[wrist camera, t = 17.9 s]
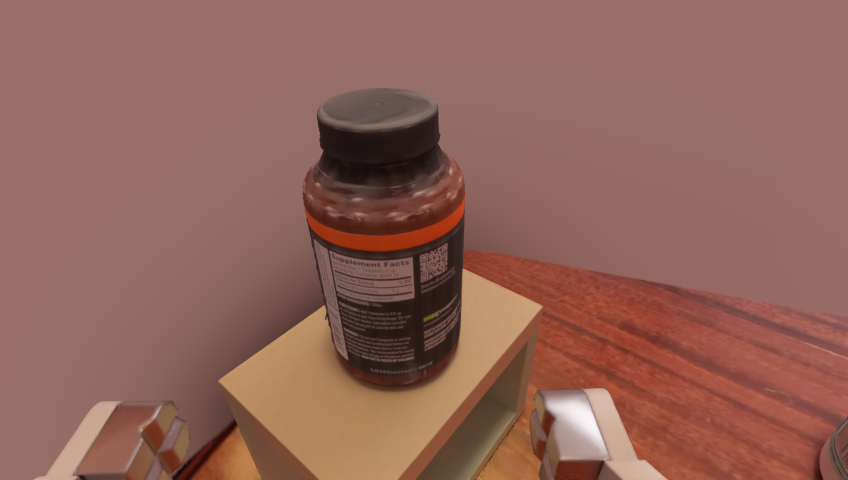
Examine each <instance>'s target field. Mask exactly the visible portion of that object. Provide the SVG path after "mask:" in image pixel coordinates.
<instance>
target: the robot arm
mask: <svg viewBox="0 0 848 480" xmlns="http://www.w3.org/2000/svg"><path fill="white" fill-rule="evenodd" d="M534 402H535V406H536V409H535V410H533V411H532V412H531V418H530V434H531V441H532V446H533V451H534V454H535V455H536V456H537V458H538V459H539V460H540V461H541V462H542V464H541V468H540V472H539V477H540V480H667V479H666V478H665V477H664V476H663V475H661V474H660V473H659V472H658V471H657V470H656V469H655V468H654V467H653V466H651V465H650V464H649V463H648V462H647V461H646V460H638V458H637V456H636V454H635V451H634V449H633V447H632V444H631V442H630V440H629V437H628V435H627V433H626V431H625V428H624V426H623V424H622V421H621V419H620V417H619V414H618V412H617V410H616V407H615V405H614V403H613V400H612V398H611V396H610V394H609V392H608V391H607V390H606V389H604V388H594V389H580V388H577V389H554V390H538V391H537V392H536V393H535V398H534ZM177 411H178V408H177V406H176V405H175V403H174V402H173V401H109V402H99V403H98V404H97V405H95V406H94V407H93V408H92V409H91V410H90V411H89V413H88V414H87V416H86V417H85V419H84V420H83V421H82V423H81V424H80V426H79V427H78V429H77V430H76V432H75V433H74V435H73V436H72V438H71V439H70V440H69V442H68V443H67V445H66V446H65V448H64V449H63V451H62V452H61V454H60V455H59V457H58V458H57V460H56V461H55V462H54V464H53V465H52V467H51V468H50V470H49V471H48V473H47V474H46V476H43V477H37V478H35V479H34V480H172V477H171V474H172V473H173V472H174V471H175V470H176V469H177V468H178V467H179V466H181V465H182V464H183V461H184V459H185V456H186V454H187V451H188V446H189V440H190V434H189V428H188V426H187V424H186V422H185V421H184V420H182V419H180V418H179V417H177V416H176V414H177Z"/></svg>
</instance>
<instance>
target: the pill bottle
mask: <svg viewBox="0 0 848 480" xmlns="http://www.w3.org/2000/svg"><path fill="white" fill-rule="evenodd" d="M820 470H821V474H822V478H823V480H848V417H847V418H846V419H845V420H844V421H843V422H842V424H841V425H840V426H839V427H838V428H837V430H836V431H835V432H834V433H833V434H832V436H831V437H830V438H829V439H828V440H827V441H826V443H825V444H824V446H823V448H822V450H821V454H820Z"/></svg>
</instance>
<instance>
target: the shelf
mask: <svg viewBox="0 0 848 480" xmlns="http://www.w3.org/2000/svg"><path fill="white" fill-rule="evenodd" d="M542 310H543V306H542V305H540V304H537V303H535V302H533V301H531V300H529V299H527V298H525V297H523V296H520V295H518V294H516V293H514V292H512V291H510V290H508V289H505V288H503V287H501V286H499V285H497V284H495V283H493V282H490V281H488V280H486V279H484V278H482V277H480V276H478V275H476V274H473V273H471V272H469V271H467V270H465V269H463V273H462V307H461V329H460V337H459V342H458V346H457V349H456V352H455V354H454V356H453V357H452V358H451V360H450V361H449V362H448V364H447V365H446V366H445V367H444V368H443V369H442V370H440V371H439V372H438V373H436V374H435V375H434V376H432V377H430V378H428V379H426V380H423V381H421V382H418V383H414V384H411V385H407V386H397V387H391V386H380V385H375V384H372V383H368V382H366V381H363V380H361V379H359V378H357V377H356V376H354V375H353V374H352V373H351V372H349V371H348V370H347V369H346V368H345V367H344V365H343V364H342V363H341V361H340V359H339V358H338V356H337V353H336V351H335V347H334V344H333V342H332V338H331V330H330V327H329V326H328V320H327V319H328V318H327V319H326V320H325V316H326V308H325V305H324V306H323V307H321V308H320V309H319V310H317V311H316V312H315V313H313V314H312V315H310V316H309V317H307V318H306V319H305V320H303V321H302V322H300V323H299V324H297V325H296V326H295V327H293V328H292V329H290V330H289V331H288V332H286V333H285V334H283V335H282V336H280V337H279V338H278V339H276V340H275V341H273V342H272V343H271V344H269V345H268V346H266V347H265V348H264V349H262V350H261V351H259V352H258V353H256V354H255V355H254V356H252V357H251V358H249V359H248V360H247V361H245V362H244V363H242V364H241V365H239V366H238V367H237V368H235V369H234V370H232V371H231V372H230V373H229V374H227V375H225V376H224V377H223V378H221V379H220V380H219V381H218V382H219V385H220V387H221V389H222V391H223V393H224V395H225V398H226V400H227V402H228V404H229V407H230V409H231V411H232V413H233V415H234V418H235V420H236V422H237V425H238V427H239V429H240V431H241V434H242V436H243V438H244V440H245V442H246V445H247V447H248V449H249V451H250V454H251V456H252V458H253V460H254V463H255V465H256V467H257V469H258V472H259V474H260V475H261V478H262V480H475V479H476V477H477V476H478V475H479V473H480V472H481V470H482V469H483V467H484V466H485V465H486V463H487V462H488V460H489V459H490V457H491V456H492V455H493V453H494V452H495V450H496V449H497V448H498V446H499V445H500V443H501V442H502V440H503V439H504V438H505V436H506V435H507V433H508V432H509V430H510V429H511V428H512V426H513V425H514V423H515V422H516V420H517V419H518V418H519V416H520V415H521V413H522V412H523V410H524V405H525V399H526V394H527V389H528V383H529V378H530V373H531V367H532V362H533V357H534V351H535V346H536V341H537V335H538V330H539V326H540V321H541V315H542Z"/></svg>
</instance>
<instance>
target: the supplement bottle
mask: <svg viewBox="0 0 848 480" xmlns="http://www.w3.org/2000/svg"><path fill="white" fill-rule="evenodd" d="M317 119H318V126H319V131H320V145H321V148H322V149H323V150H324V151H323V154H322V156H321V158H320V159H319V160H318V161H317V162H316V163H315V164H314V165H313V166H312V167H311V168H310V170H309V172H308V173H307V175H306V177H305V179H304V184H303V200H304V206H305V211H306V215H307V222H308V226H309V232H310V236H311V240H312V247H313V249H314V256H315V259H316V266H317V270H318V276H319V280H320V283H321V288H322V294H323V298H324V299H323V300H324V303H325V308H326V316H325V320H326V319H327V318H328V319H327V320H328V326H329V327H330V330H331V338H332V342H333V344H334V347H335V351H336V353H337V356H338V358H339V359H340V361H341V363H342V364H343V365H344V367H345V368H346V369H347V370H348V371H349V372H351V373H352V374H353V375H354V376H356V377H357V378H359V379H361V380H363V381H366V382H368V383H372V384H375V385H380V386H391V387H397V386H407V385H411V384H414V383H418V382H421V381H423V380H426V379H428V378H430V377H432V376H434V375H435V374H436V373H438V372H439V371H440V370H442V369H443V368H444V367H445V366H446V365H447V364H448V362H449V361H450V360H451V358H452V357H453V356H454V354H455V352H456V349H457V346H458V342H459V337H460V329H461V307H462V273H463V245H464V213H465V211H464V210H465V191H464V189H465V186H464V178H463V175H462V171H461V169H460V167H459V165H458V164H457V162H456V161H455V160H454V159H453V158H452V157H451V156H450V155H448V154H447V153H446V152H445V151H443V150H441V149H440V146H439V145H438V142H439V139H440V133H439V126H438V105H437V103H436V102H435V101H434V99H432V98H430V97H429V96H428V95H426V94H423V93H421V92H417V91H413V90H406V89H396V88H368V89H361V90H355V91H350V92H346V93H343V94H339V95H337V96H334V97H332V98H330V99H328V100H326V101H325V102H324V103H323V104H321V105H320V107H319V109H318V111H317Z"/></svg>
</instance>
